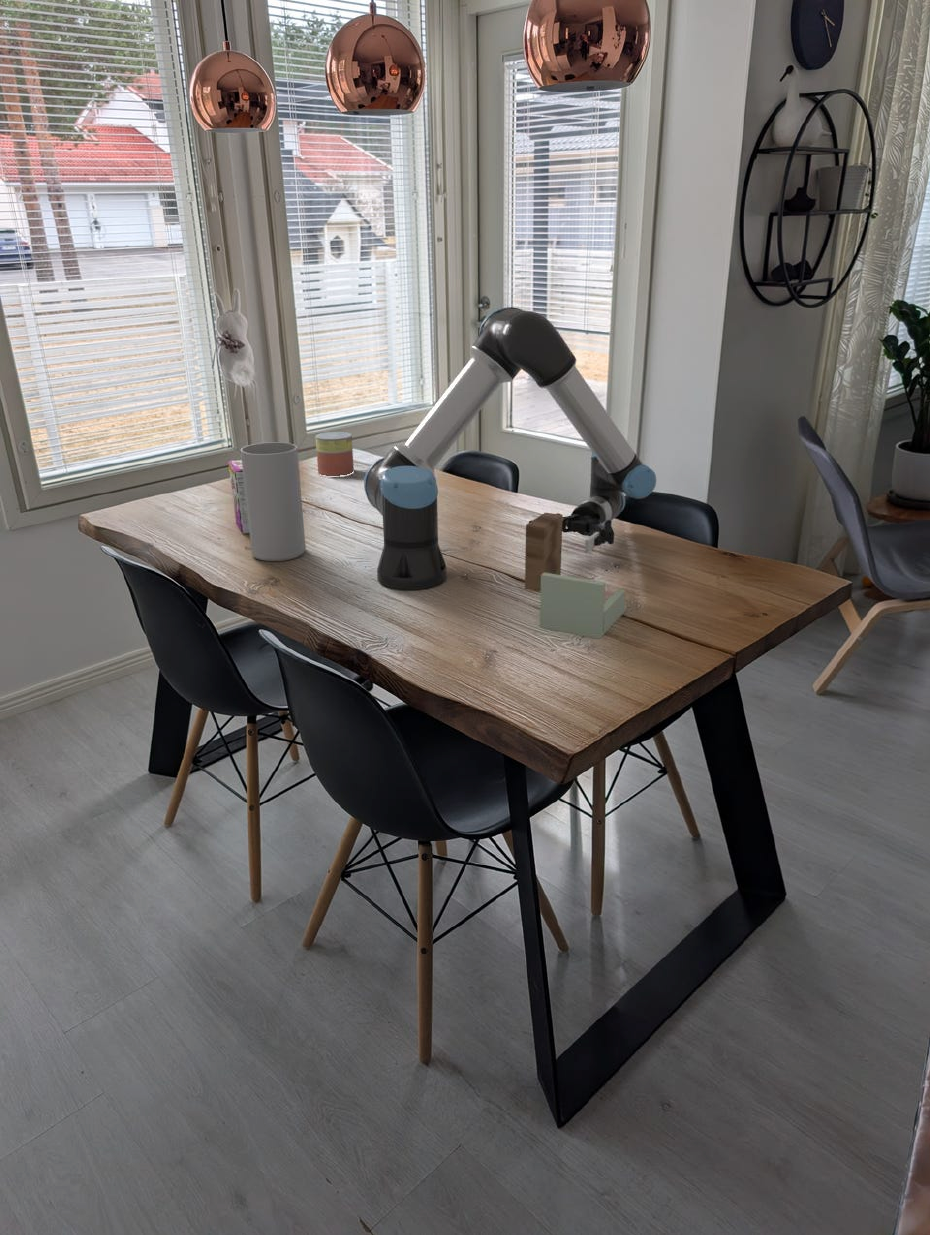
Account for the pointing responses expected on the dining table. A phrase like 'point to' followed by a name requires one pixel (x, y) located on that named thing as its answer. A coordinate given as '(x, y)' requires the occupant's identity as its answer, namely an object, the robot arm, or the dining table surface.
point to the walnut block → (542, 549)
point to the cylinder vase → (273, 500)
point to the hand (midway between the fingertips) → (557, 542)
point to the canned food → (334, 453)
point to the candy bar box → (239, 495)
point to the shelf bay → (578, 605)
